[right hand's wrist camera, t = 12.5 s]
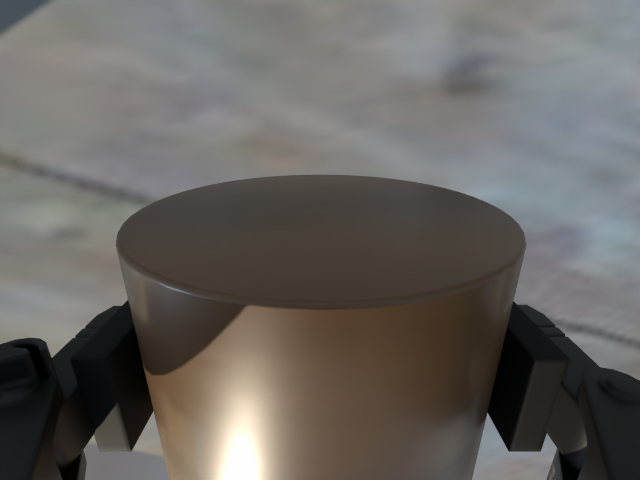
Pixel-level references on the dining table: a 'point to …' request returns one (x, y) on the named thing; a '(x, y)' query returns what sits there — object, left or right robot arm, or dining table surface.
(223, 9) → the dining table surface
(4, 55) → the dining table surface
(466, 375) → the rod
